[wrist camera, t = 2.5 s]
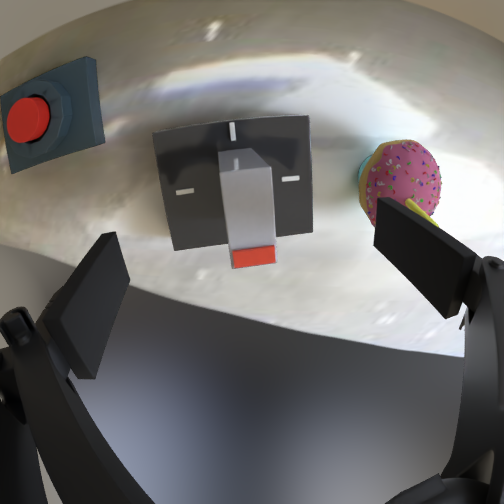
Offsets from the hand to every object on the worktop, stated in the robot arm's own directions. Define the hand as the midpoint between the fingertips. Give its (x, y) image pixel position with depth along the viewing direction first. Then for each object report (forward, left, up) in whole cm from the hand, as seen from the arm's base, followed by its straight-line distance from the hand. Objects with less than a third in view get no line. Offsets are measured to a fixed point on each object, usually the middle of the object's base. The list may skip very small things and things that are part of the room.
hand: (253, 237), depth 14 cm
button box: (+16, -9, -13) cm, 22 cm away
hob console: (0, 0, -13) cm, 13 cm away
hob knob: (0, 0, -10) cm, 10 cm away
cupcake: (-14, +1, -13) cm, 19 cm away
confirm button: (+16, -9, -9) cm, 20 cm away
